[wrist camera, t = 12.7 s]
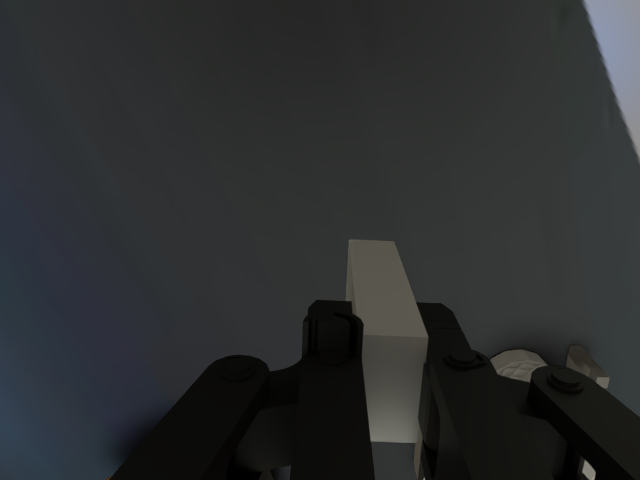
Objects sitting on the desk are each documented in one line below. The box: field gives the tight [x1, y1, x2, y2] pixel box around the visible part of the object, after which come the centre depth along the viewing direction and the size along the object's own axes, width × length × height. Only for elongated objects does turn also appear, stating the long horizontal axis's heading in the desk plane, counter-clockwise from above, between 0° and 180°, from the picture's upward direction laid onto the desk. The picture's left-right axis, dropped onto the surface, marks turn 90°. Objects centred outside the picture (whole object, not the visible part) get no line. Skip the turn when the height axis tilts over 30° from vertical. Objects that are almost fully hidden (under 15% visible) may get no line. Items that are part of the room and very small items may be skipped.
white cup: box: [490, 349, 596, 480], centre depth 44 cm, size 8×8×10 cm
